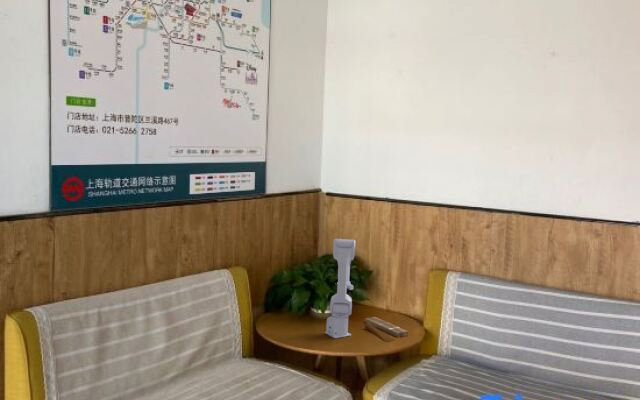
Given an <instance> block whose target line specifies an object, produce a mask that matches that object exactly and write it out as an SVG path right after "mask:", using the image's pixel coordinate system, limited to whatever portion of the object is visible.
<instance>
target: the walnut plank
mask: <svg viewBox="0 0 640 400" xmlns="http://www.w3.org/2000/svg"><path fill="white" fill-rule="evenodd" d="M364 322H365V324H366V323H370V324H371V325H372V326H373V327H375V328H376V329H378V330H380V331H384V333H386V334H390V335H392V336H394V337H396V338H401V337H406V336H407V335H408V334H409V333H408V330H406V329H404V328H401V327H399V326H397V325H396V324H395V325H394V324H392V323H390V322H388V321H386V320H383V319H381V318H378V317H376V316H371V317H365V321H364ZM407 337H408V336H407Z"/></svg>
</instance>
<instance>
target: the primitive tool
mask: <svg viewBox="0 0 640 400" xmlns="http://www.w3.org/2000/svg"><path fill="white" fill-rule="evenodd" d="M364 329H365V330H369V331H370V332H371V333H372V334H374V335H376V337H378V338H379V339H381V340H382V341H384V342H385V343H391V342H395V341H396V339H395V338H394V337H391V336H390V335H388V334H387V333H385V332H382V330H381V329H379V328H376V327H374V326H372V325H371V324H370V323H366V322H365V325H364Z"/></svg>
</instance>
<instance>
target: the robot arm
mask: <svg viewBox="0 0 640 400" xmlns="http://www.w3.org/2000/svg"><path fill="white" fill-rule="evenodd" d="M332 246H333V247H332V248H333V249H332V251H333V252H332V253H333V254H332V256H333V259H334V260H335V261H337V266H338V268H337V279H338V282H337V284H336V286H337V289H336V290H337V291H336V292H337V293H335V294H334V295H332V296H331V298H330V302H329V303H330V304H329V314H331V316H329V317H327V319H326V329H325V332H324V334H326V335H328V336H330V337H331V338H334V339H339V338H345V337H351V336H352V333H350V332H348V330H349V329H348V328H349V316H351V315H352V311H353V310H352V309H353V303H352V302H353V299H352V297H351V296H350V295H348V293H349V291H352V290H354V285H353V284H351V281H350V275H351V271H350V270H351V264H352V263H351V262H352V261H353V260H354V258H355V254H356V240H355V239H344V238H343V239H342V238H334V239H333V245H332Z"/></svg>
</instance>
